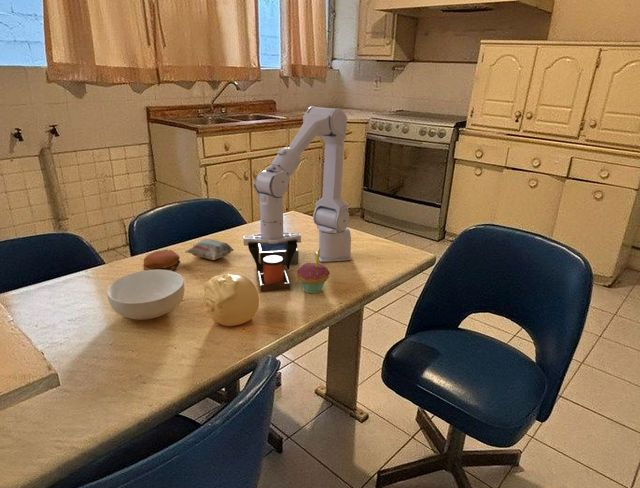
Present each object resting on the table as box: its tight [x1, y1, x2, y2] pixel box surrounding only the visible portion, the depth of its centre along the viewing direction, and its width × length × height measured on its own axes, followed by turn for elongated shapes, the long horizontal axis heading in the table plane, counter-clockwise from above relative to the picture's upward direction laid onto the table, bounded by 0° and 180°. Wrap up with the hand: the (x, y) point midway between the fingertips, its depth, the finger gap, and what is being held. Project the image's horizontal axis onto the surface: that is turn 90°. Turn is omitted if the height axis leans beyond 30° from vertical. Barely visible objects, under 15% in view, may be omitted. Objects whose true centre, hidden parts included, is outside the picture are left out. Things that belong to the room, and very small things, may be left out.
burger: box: [143, 249, 181, 271], centre depth 128 cm, size 10×9×5 cm
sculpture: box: [203, 272, 260, 327], centre depth 102 cm, size 12×12×11 cm
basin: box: [258, 242, 299, 266], centre depth 136 cm, size 11×11×4 cm
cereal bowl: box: [106, 270, 186, 320], centre depth 105 cm, size 17×17×7 cm
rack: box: [256, 262, 291, 293], centre depth 123 cm, size 8×14×2 cm, turn 12°
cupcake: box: [295, 248, 331, 294], centre depth 116 cm, size 9×8×12 cm
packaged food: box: [184, 238, 235, 261], centre depth 137 cm, size 9×12×5 cm
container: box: [263, 255, 284, 284], centre depth 119 cm, size 5×5×7 cm
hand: (273, 268), depth 119 cm, fingers open, 7 cm apart
